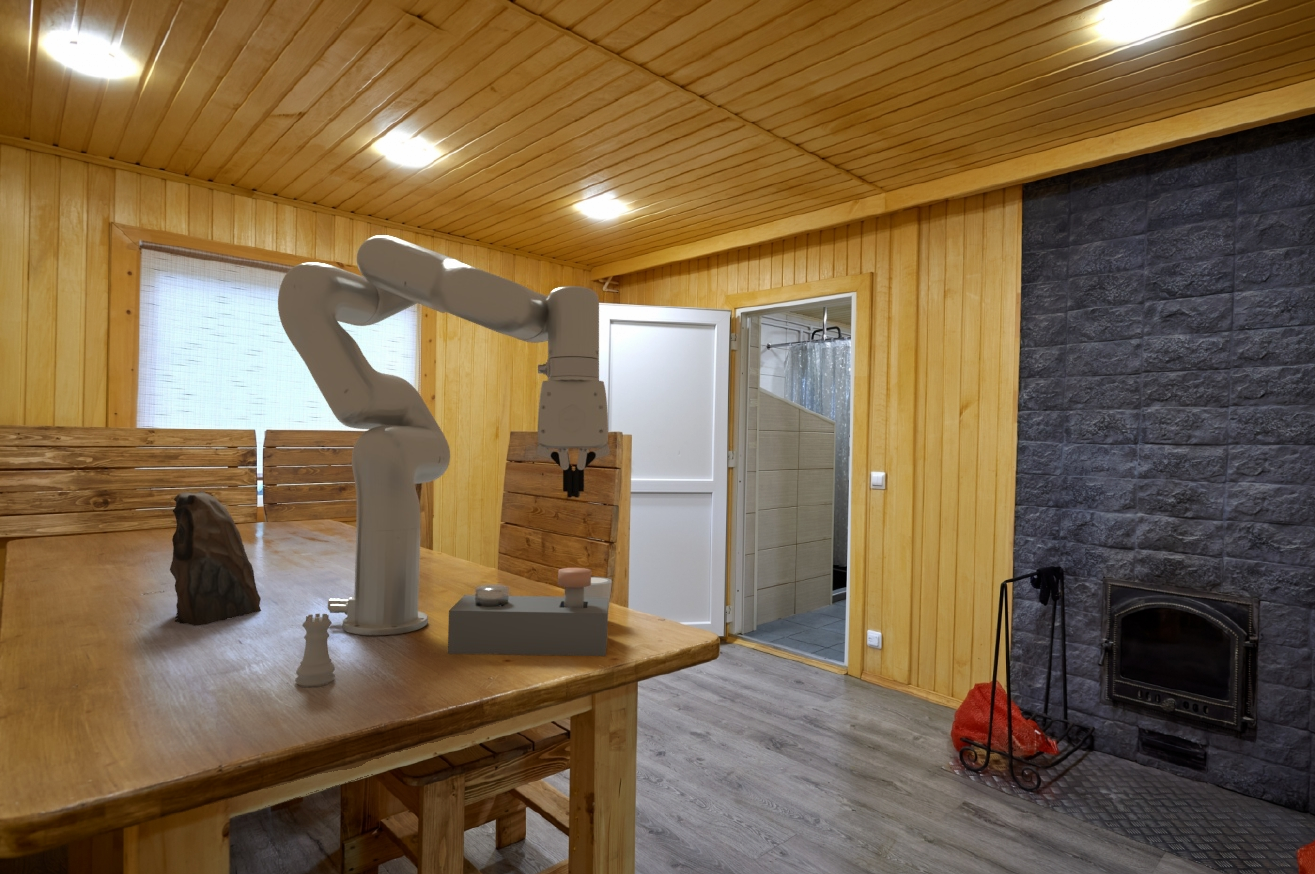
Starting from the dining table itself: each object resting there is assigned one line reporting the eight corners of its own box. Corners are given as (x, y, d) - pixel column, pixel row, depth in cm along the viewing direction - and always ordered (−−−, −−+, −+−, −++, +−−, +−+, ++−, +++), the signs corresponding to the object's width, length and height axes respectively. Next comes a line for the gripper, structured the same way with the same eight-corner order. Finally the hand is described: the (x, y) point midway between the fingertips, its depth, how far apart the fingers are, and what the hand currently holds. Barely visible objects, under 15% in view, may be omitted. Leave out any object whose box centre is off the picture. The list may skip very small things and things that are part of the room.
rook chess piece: (308, 690, 84) (310, 622, 84) (287, 682, 86) (289, 616, 86) (343, 680, 88) (345, 615, 88) (321, 673, 90) (323, 609, 90)
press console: (447, 653, 100) (448, 610, 100) (463, 634, 110) (464, 594, 110) (605, 655, 101) (607, 613, 101) (607, 636, 111) (608, 597, 111)
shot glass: (614, 617, 123) (615, 576, 123) (607, 627, 116) (608, 584, 116) (574, 615, 123) (575, 574, 123) (565, 625, 116) (566, 582, 116)
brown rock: (193, 628, 108) (197, 496, 108) (135, 619, 113) (139, 492, 113) (264, 610, 120) (268, 491, 120) (210, 602, 125) (214, 488, 125)
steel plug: (470, 643, 102) (472, 591, 102) (477, 634, 107) (478, 584, 107) (504, 644, 103) (506, 591, 103) (509, 634, 107) (511, 584, 107)
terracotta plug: (555, 625, 103) (557, 573, 103) (558, 617, 108) (559, 567, 108) (588, 625, 103) (590, 573, 103) (590, 617, 108) (591, 568, 108)
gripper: (518, 369, 101) (518, 499, 101) (624, 370, 102) (624, 498, 102) (526, 375, 109) (526, 495, 109) (624, 375, 110) (624, 495, 109)
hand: (573, 496), depth 105 cm, fingers closed
